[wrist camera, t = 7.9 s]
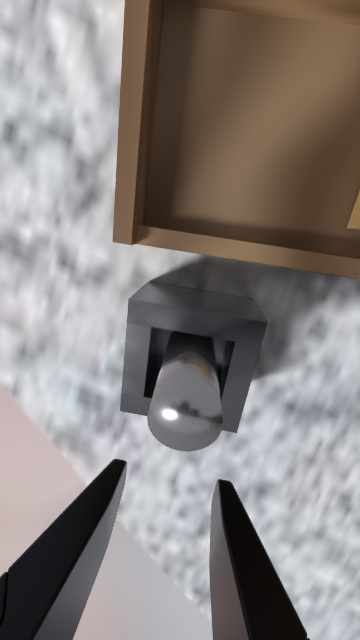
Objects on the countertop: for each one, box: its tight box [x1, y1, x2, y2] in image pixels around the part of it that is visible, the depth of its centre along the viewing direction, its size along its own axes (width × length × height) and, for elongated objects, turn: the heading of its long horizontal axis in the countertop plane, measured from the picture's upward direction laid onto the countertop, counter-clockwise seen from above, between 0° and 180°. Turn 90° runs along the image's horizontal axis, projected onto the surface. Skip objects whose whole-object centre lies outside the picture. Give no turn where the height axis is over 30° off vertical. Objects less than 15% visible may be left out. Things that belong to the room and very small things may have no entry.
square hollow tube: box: [120, 282, 267, 433], centre depth 16 cm, size 7×7×4 cm
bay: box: [113, 0, 360, 279], centre depth 12 cm, size 22×12×3 cm, turn 82°
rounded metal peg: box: [147, 331, 223, 451], centre depth 14 cm, size 3×3×7 cm
